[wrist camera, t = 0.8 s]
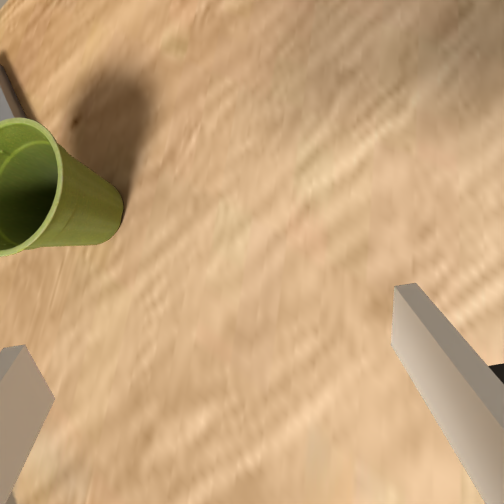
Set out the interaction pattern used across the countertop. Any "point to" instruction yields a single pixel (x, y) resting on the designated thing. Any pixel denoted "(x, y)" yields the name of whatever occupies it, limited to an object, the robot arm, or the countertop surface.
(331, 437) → the countertop surface
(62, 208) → the plant pot
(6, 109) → the tray
